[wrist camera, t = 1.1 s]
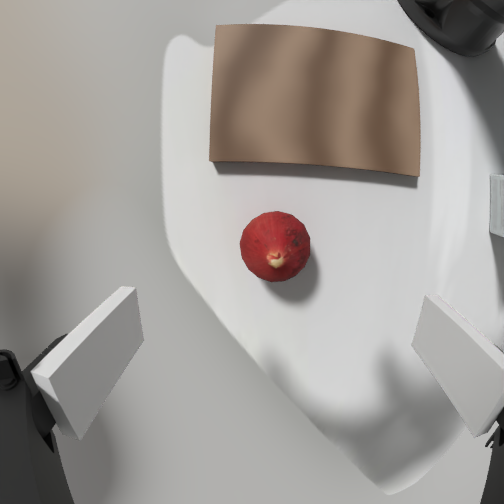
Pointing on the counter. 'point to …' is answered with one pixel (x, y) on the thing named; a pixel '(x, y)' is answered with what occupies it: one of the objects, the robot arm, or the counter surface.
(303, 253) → the onion
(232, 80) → the walnut board
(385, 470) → the counter surface
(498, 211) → the supplement box
